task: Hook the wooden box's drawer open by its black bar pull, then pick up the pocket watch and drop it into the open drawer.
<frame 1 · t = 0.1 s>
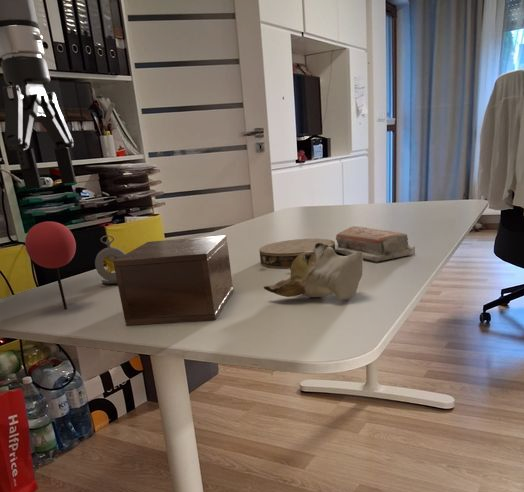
hand: (52, 185, 98), 20 cm above the table, tool pointing down, fingers open, 13 cm apart
tambourine: (298, 260, 111), on the table
wooden box: (183, 307, 84), on the table
lollipop: (66, 309, 92), on the table
old brick: (369, 254, 110), on the table
drawer: (187, 269, 88), point 5 cm above the table, slide at 1.0 cm
ceramic sculpture: (320, 297, 82), on the table
pocket watch: (117, 283, 108), on the table
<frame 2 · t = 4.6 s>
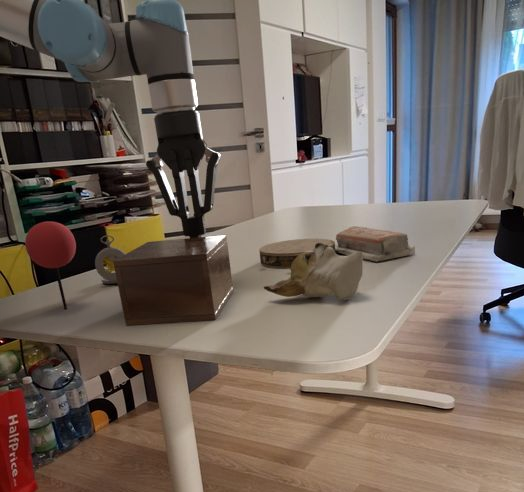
hand: (198, 253, 94), 6 cm above the table, tool pointing down, fingers closed
drawer: (188, 269, 88), point 5 cm above the table, slide at 1.4 cm
everything else where it was.
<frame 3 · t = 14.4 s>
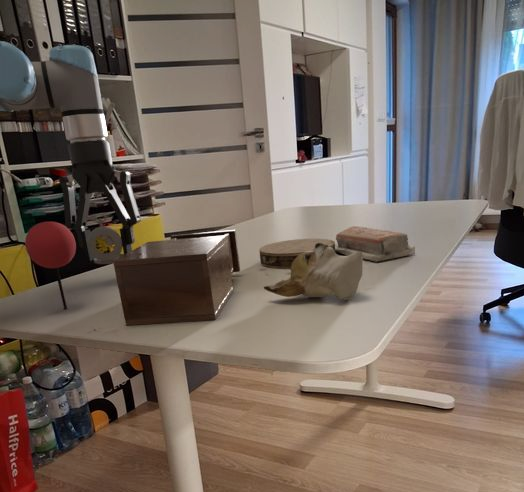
hand: (110, 261, 106), 4 cm above the table, tool pointing down, fingers closed on pocket watch, 7 cm apart
drawer: (201, 257, 97), point 5 cm above the table, slide at 11.2 cm
pocket watch: (109, 264, 106), point 4 cm above the table, touching gripper
everything else where it was.
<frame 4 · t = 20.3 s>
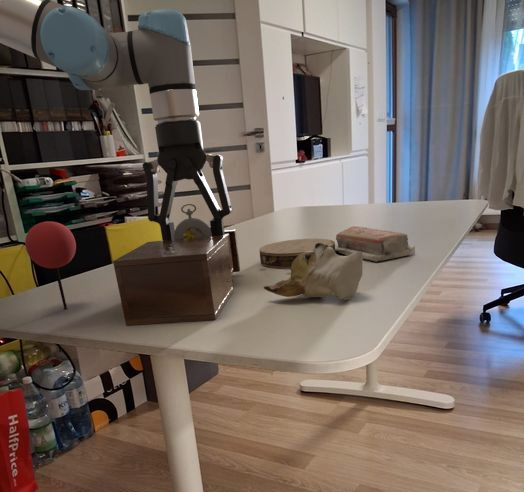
hand: (196, 257, 95), 5 cm above the table, tool pointing down, fingers closed on pocket watch, 7 cm apart
pocket watch: (195, 260, 95), point 5 cm above the table, touching gripper
everything else where it was.
when the fingers open (5 cm above the table, at t = 28.8 s): pocket watch drops 3 cm, resting on drawer.
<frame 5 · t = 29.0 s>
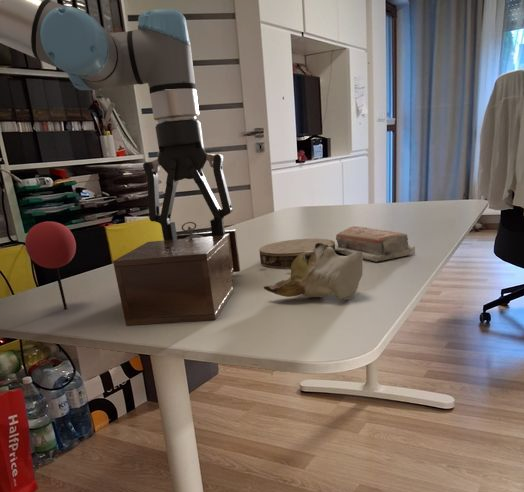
hand: (197, 257, 95), 5 cm above the table, tool pointing down, fingers open, 7 cm apart
drawer: (201, 257, 98), point 5 cm above the table, slide at 11.3 cm, touching pocket watch
pocket watch: (199, 275, 96), point 2 cm above the table, touching drawer, gripper
everything else where it was.
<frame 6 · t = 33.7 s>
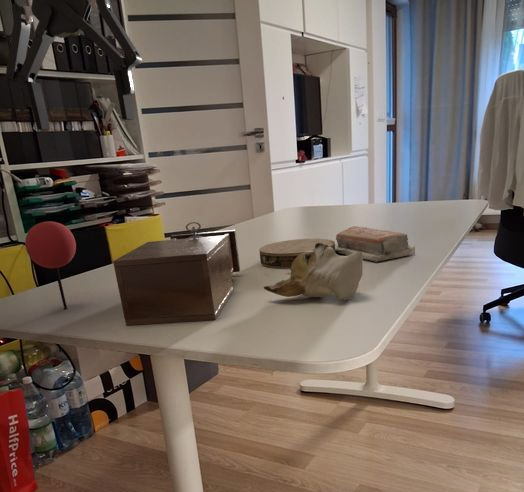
hand: (85, 125, 80), 29 cm above the table, tool pointing down, fingers open, 13 cm apart
pocket watch: (199, 277, 96), point 2 cm above the table, touching drawer
everything else where it was.
at the end: drawer slide at 11.2 cm; pocket watch inside the target area in the drawer (0.1 cm from its centre), point 1.9 cm above the wooden box's base; the gripper is holding nothing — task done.
